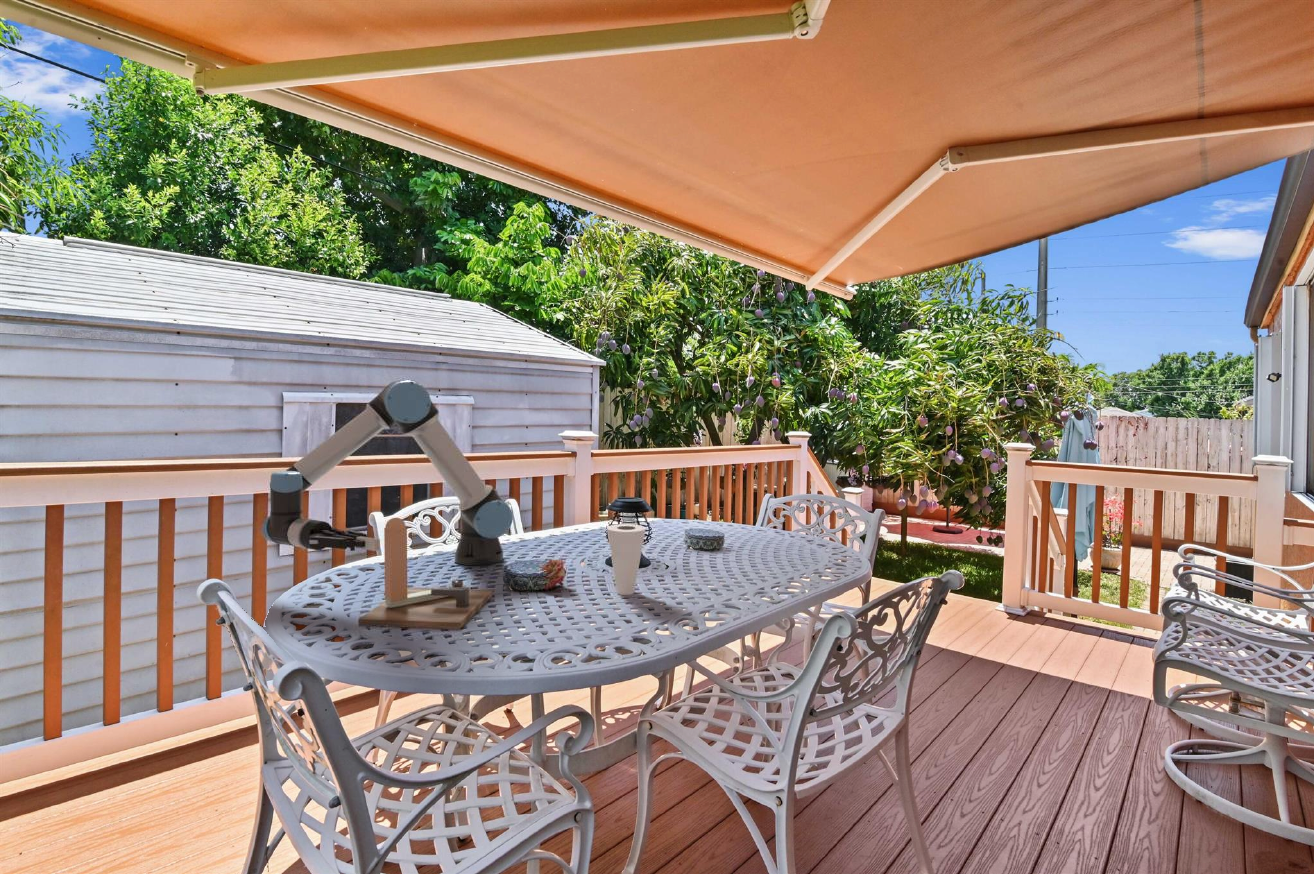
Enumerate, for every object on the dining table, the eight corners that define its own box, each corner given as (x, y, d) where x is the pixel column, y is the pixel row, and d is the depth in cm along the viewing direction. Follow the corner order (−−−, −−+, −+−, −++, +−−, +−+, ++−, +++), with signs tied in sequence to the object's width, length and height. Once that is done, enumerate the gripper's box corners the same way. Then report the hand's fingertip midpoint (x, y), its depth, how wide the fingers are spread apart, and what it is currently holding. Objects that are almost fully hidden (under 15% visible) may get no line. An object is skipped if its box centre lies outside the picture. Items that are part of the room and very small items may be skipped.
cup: (598, 592, 189) (598, 527, 187) (625, 584, 196) (626, 522, 195) (625, 600, 181) (626, 533, 180) (652, 592, 189) (653, 528, 188)
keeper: (447, 592, 181) (447, 576, 180) (480, 593, 180) (480, 577, 180) (431, 606, 169) (431, 589, 169) (465, 607, 169) (465, 590, 168)
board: (405, 592, 185) (405, 587, 185) (493, 595, 184) (493, 590, 184) (358, 625, 159) (358, 619, 159) (460, 629, 158) (459, 622, 158)
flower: (562, 574, 200) (546, 554, 197) (581, 574, 193) (565, 553, 191) (541, 598, 194) (525, 578, 191) (560, 599, 187) (544, 578, 185)
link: (461, 590, 182) (460, 508, 181) (469, 594, 179) (469, 511, 178) (383, 605, 169) (382, 517, 167) (390, 610, 165) (389, 520, 164)
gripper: (332, 543, 186) (397, 554, 176) (288, 553, 174) (355, 565, 164) (332, 516, 185) (397, 525, 175) (288, 524, 173) (355, 534, 163)
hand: (377, 545), depth 170 cm, fingers closed
